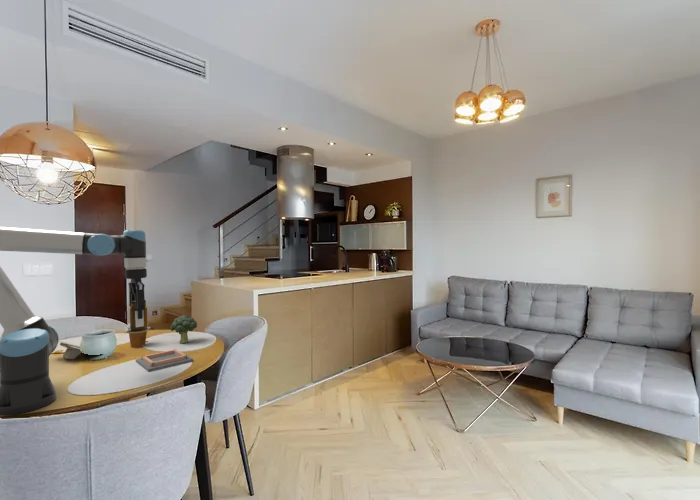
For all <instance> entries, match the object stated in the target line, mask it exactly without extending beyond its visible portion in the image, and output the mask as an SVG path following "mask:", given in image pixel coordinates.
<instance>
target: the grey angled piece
mask: <svg viewBox="0 0 700 500" xmlns="http://www.w3.org/2000/svg"><path fill="white" fill-rule="evenodd" d="M58 343H60V344H59V346H61V347H64V348H66V349H65V351H64V353H63V355H62V357H64V358H65V359H69V360H75V359H76V358H77V357H78V356H79V355H80V354H82V352H81V351H80V346H81V345H78V344H73V343H68V342H65V341H62V340H58Z"/></svg>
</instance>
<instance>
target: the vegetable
mask: <svg viewBox="0 0 700 500" xmlns="http://www.w3.org/2000/svg"><path fill="white" fill-rule="evenodd" d="M197 325H198V323H197V321H196V320H195V319H194V317H191V316H189V315H185V314H182V315H180V316H179V317H176V318H174V319H173V322H172V323H171V325H170V327H169V328H170V331H171V332H173V331H175V333H177V334H179V335H180V341H179V343H180V344H184V343H188V342H189V336H188V333H189V332H193V331H194V329H196V328H198V326H197ZM188 331H189V332H188Z"/></svg>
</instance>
